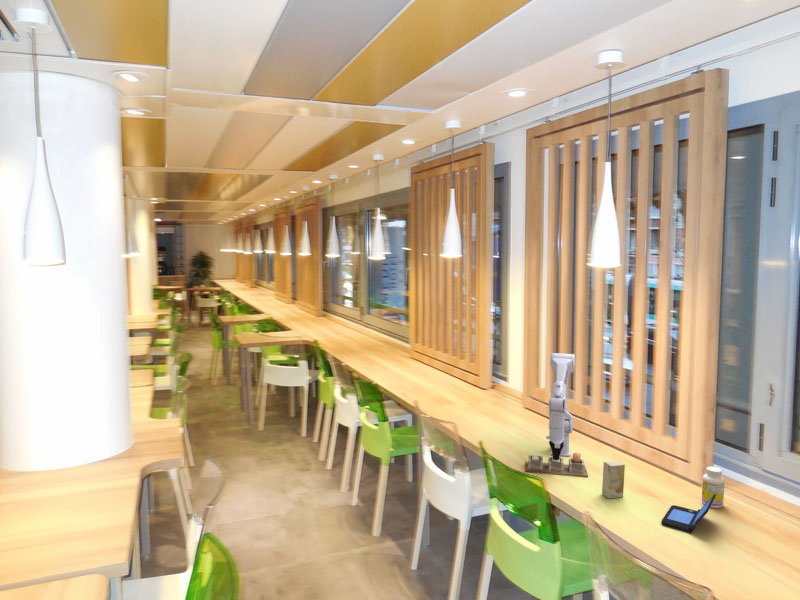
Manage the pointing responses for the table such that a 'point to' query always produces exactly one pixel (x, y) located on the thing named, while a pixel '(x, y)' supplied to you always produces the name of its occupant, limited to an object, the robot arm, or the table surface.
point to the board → (555, 467)
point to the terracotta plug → (576, 457)
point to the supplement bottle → (713, 487)
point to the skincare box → (613, 479)
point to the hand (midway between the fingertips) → (555, 459)
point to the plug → (535, 458)
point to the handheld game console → (685, 516)
